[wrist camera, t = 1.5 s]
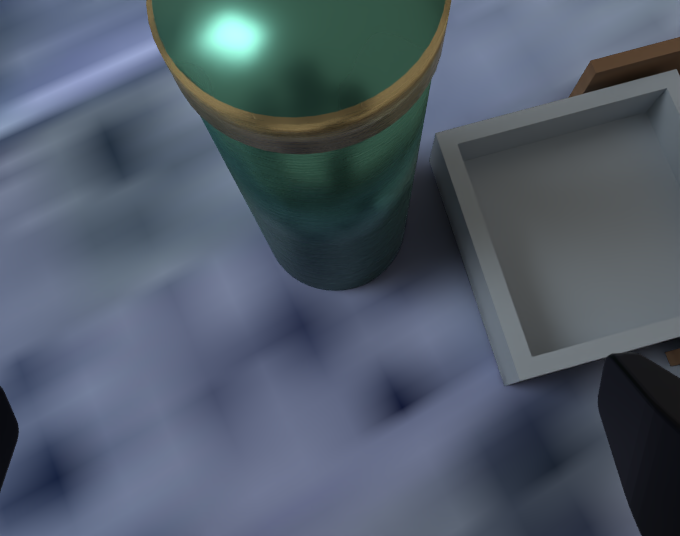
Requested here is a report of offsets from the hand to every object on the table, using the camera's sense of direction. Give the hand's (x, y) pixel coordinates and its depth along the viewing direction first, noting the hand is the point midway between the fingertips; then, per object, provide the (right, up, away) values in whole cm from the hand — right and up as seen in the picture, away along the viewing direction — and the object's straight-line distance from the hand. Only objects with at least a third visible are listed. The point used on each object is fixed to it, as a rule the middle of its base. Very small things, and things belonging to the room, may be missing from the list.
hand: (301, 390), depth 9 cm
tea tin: (0, +3, +14) cm, 15 cm away
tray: (+9, +3, +14) cm, 17 cm away
